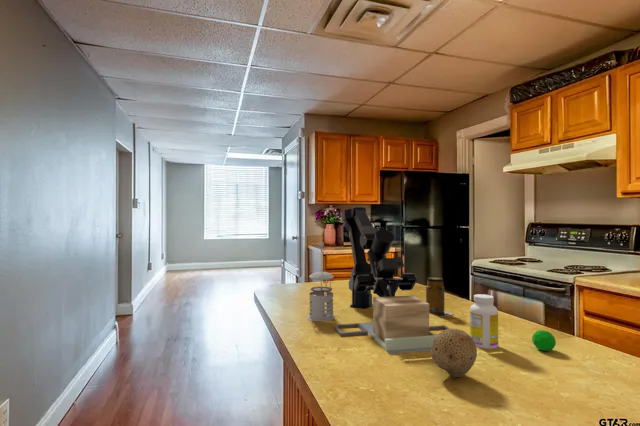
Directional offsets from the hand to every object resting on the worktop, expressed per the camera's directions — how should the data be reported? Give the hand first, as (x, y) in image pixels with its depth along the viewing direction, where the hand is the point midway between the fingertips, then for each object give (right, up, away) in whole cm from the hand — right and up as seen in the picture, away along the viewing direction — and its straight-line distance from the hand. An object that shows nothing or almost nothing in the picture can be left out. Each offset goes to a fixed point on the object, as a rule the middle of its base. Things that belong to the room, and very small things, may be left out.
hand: (392, 307), depth 105 cm
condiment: (+19, -8, +20) cm, 29 cm away
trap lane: (+1, -7, -3) cm, 8 cm away
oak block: (+1, -7, -5) cm, 9 cm away
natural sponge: (+7, -7, -29) cm, 30 cm away
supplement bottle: (+22, -7, -11) cm, 25 cm away
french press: (-20, -8, +15) cm, 26 cm away
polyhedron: (+35, -7, -14) cm, 38 cm away
